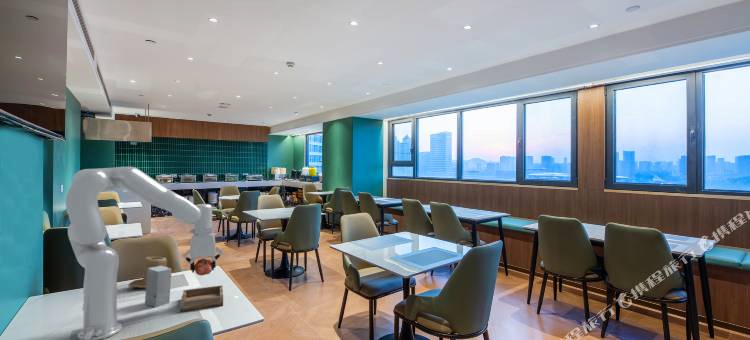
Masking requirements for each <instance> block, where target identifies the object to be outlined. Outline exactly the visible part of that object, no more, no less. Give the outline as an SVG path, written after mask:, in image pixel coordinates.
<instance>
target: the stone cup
mask: <svg viewBox="0 0 750 340" xmlns="http://www.w3.org/2000/svg"><path fill="white" fill-rule="evenodd" d="M167 262H168V260H167V258H166V257H164V256H163V257H162V256H146V257H145V258H144V260H143V262H142V271H143V277H142V278H140V279H135V280H133V281H131V282H130V283H128V287H129V288H141V289H146V283H147V269H148V268H152V267H157V266H164V267H167V264H168V263H167Z"/></svg>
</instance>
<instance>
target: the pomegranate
mask: <svg viewBox="0 0 750 340" xmlns="http://www.w3.org/2000/svg"><path fill="white" fill-rule="evenodd" d="M212 271H213V270H212V260H211V259H206V258H199V259H198V260H197V261H196V262H195V263H194V272H195V273H196V275H198V276H205V275H209V274H210V273H211V272H212Z"/></svg>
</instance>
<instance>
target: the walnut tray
mask: <svg viewBox="0 0 750 340" xmlns="http://www.w3.org/2000/svg"><path fill="white" fill-rule="evenodd" d="M179 303H180V305H179V306H180V313H184V312H190V311H196V310H198V311H199V310H203V309H209V308H217V307H223V306H224V287H223V285H213V286H206V287H198V288H192V289H190V288H189V289H183V292H182V296H181V299H180V302H179Z"/></svg>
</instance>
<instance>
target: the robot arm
mask: <svg viewBox="0 0 750 340" xmlns="http://www.w3.org/2000/svg"><path fill="white" fill-rule="evenodd" d="M122 188H123V189H126V190H127V191H128V192H130V193H132V194H133V195H135V196H137V197H138V198H140V199H141V200H143V201H144V202H146V203H148V204H149V205H152V206H153V207H156V208H159V209H162V210H165V211H167V212H169V213H171V216H172V218H173V219H174V220H175V221H176V222H178V223H183V224H188V225H192V224H193V229H190V230H189V233H190V234H192V235H191V237H190V248H189V249H188V250H187V251H185V252H184V253H183V254H182V255H181V256H182V258H183V259H185V261H187V262H188V263H189V264H190V265H189V266H190V271H191V272H192V273H195V270H194V265H195V262H194V261H195V260H196V259H206V258H210V259H212V260H211V262H212V271H214V270H215V269H216V266H217V265H216V262H217V260H218V259H219V258H220V257H221V256H222V254H223V253H224V251H223V249H221V248H219V247H217V246H216V237H215V234H214V233H213V205H211V204H210V203H199V204H194V203H192V202H191V201H190V200H188V199H186V198H185V197H183V196H181V195H180V194H178V193H176V192H174V190H173V191H172V190H171V189H169V188H168V187H165V186H164V185H163V184H162V183H160V182H158V181H156V180H155V179H154V178H153V177H151V176H149V175H148V174H146V173H145V172H143V171H142V170H140V169H139V168H137V167H134V166H117V167H116V166H115V167H105V168H104V167H103V168H102V167H100V168H84V169H80V170H79V171H77V172H76V173H75V174H74V175H73V177H72V184H71V185H70V186H69V189H68V190H67V192H66V196H65V206H66V207H65V208H66V211H67V214H68V218H69V221H70V224H69V226H68V228H67V236H68V240H69V242H70V245H71V247H72V250H73V253H74V256H75V258H76V261H77V263H78V264H79V265H80V266H81V267H82V268H84V278H83V292H82V294H83V317H82V318H83V322H82V323H83V325H82V327H83V328H82V329H83V330H81V331H79V332H78V334H77V339H78V340H102V339H105V338H109V337H111V336H113V335H116V334H117V333H119V332H121V331H122V329H123V325H122V323H120V322H118V318H117V317H118V313H117V312H118V311H117V310H118V307H117V305H118V296H117V295H118V284H117V283H118V272H119V271H118V270H119V263H120V262H119V261H120V259H119V255H118V253H117V251H116V250H115V249H113V248H112V247H110V246H107V243H106V241H105V238H106V237H107V233H108V231H107V227H106V224H105V222H104V219H103V216H102V213H101V210H100V207H99V202H98V201H99V200H98V199H99V195H100V194H101V192H102V191H105V190H114V189H122ZM216 252H218V253H217V254H216ZM189 256H190V257H189Z"/></svg>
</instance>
